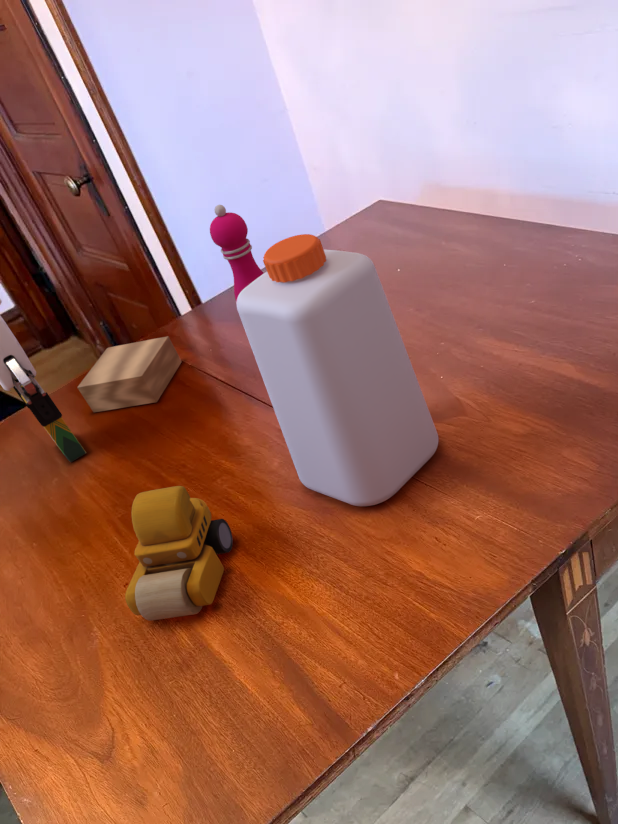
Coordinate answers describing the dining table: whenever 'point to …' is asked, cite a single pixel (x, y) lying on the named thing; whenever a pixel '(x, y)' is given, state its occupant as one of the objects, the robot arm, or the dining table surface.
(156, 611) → the toy roller
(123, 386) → the maple block
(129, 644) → the dining table surface
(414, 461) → the plastic bottle
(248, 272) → the pepper mill
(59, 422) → the crayon box
